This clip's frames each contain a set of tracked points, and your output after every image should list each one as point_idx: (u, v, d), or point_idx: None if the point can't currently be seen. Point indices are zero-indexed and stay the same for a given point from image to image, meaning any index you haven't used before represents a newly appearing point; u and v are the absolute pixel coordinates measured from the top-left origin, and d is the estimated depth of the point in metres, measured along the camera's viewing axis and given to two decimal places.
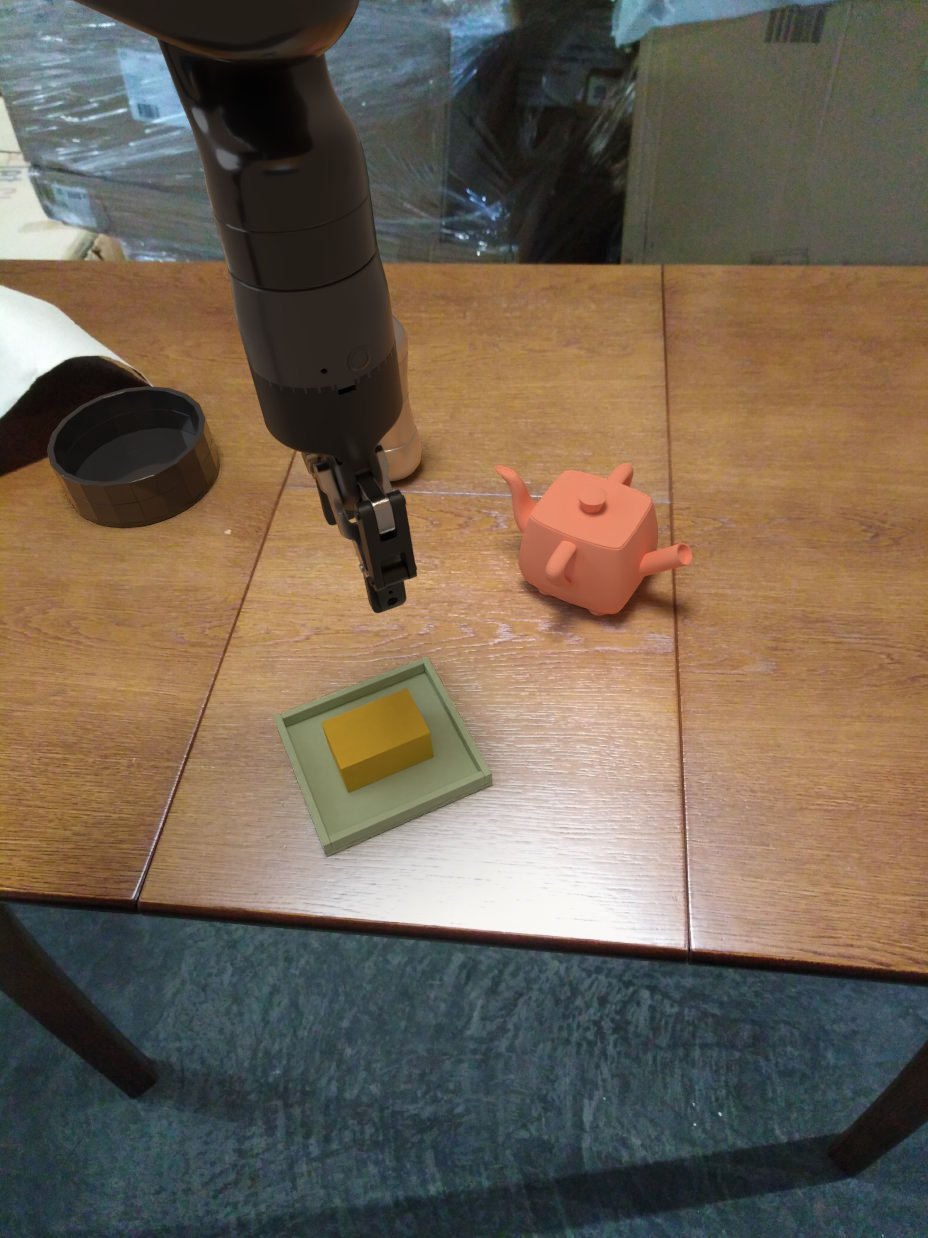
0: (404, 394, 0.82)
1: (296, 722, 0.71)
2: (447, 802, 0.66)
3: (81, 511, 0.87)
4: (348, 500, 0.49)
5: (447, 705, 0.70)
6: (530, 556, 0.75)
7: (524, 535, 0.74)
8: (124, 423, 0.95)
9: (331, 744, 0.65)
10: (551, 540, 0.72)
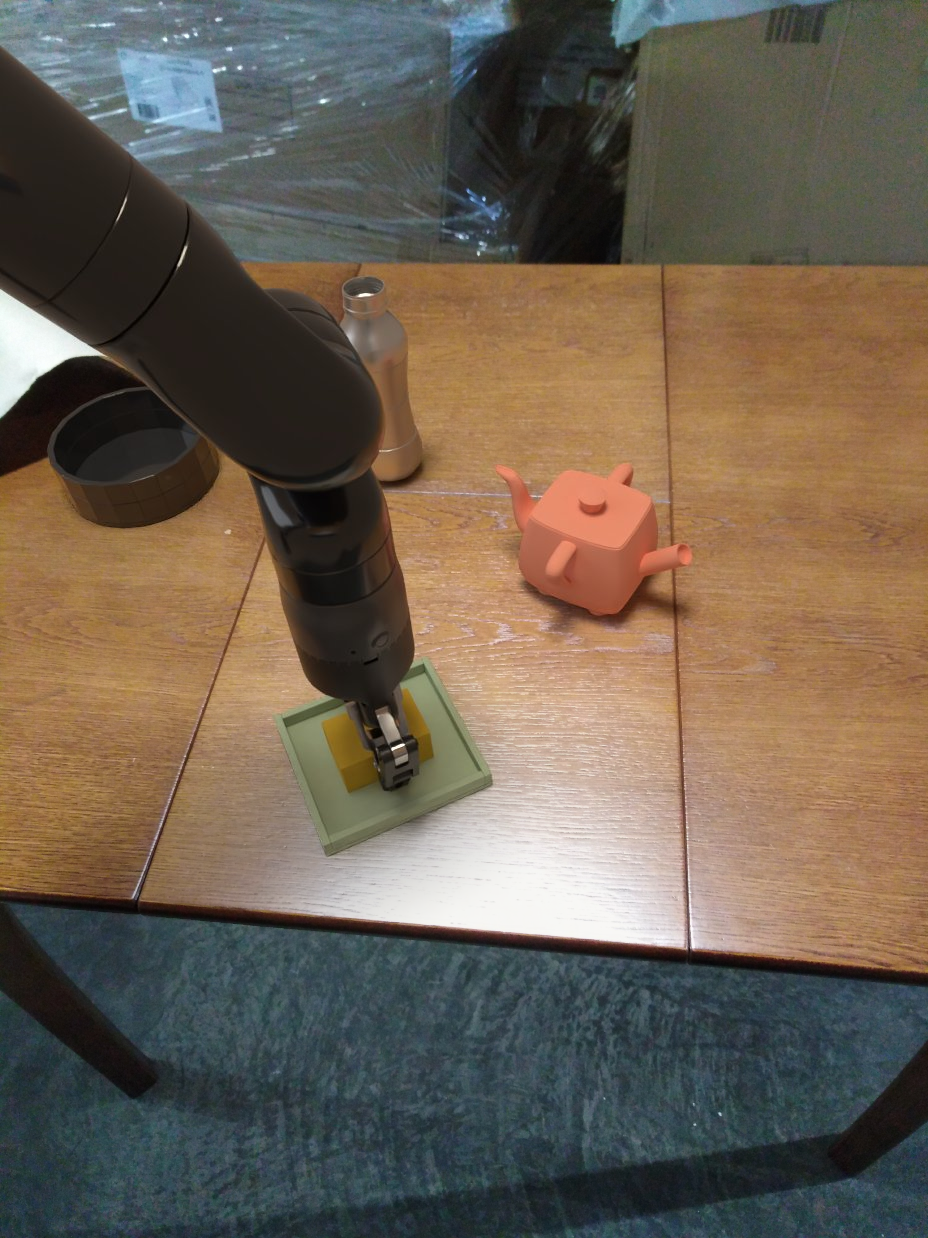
0: (404, 394, 0.82)
1: (296, 722, 0.71)
2: (447, 802, 0.66)
3: (81, 511, 0.87)
4: (370, 727, 0.59)
5: (447, 705, 0.70)
6: (530, 556, 0.75)
7: (524, 535, 0.74)
8: (124, 423, 0.95)
9: (331, 744, 0.65)
10: (551, 540, 0.72)
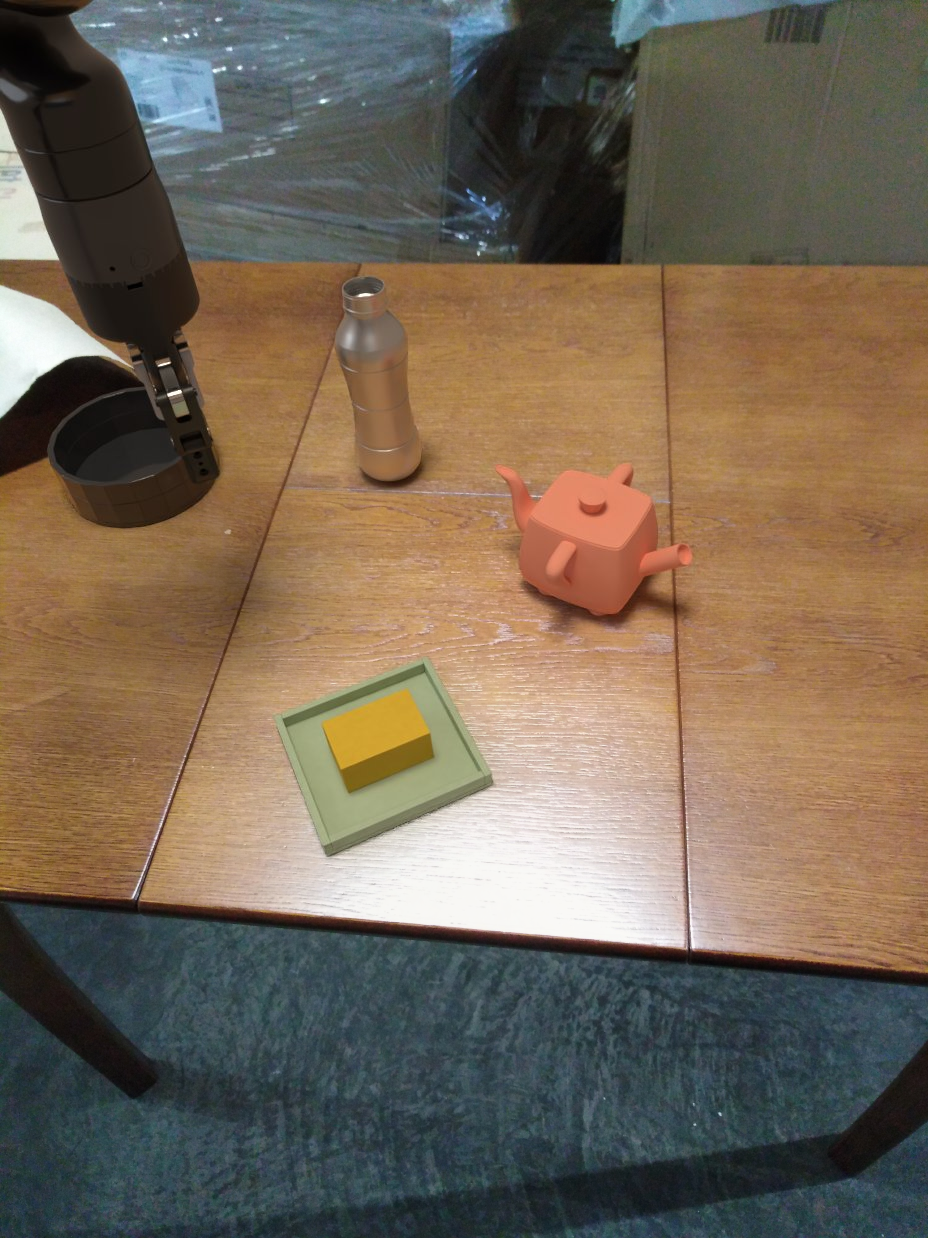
0: (404, 394, 0.82)
1: (296, 722, 0.71)
2: (447, 802, 0.66)
3: (81, 511, 0.87)
4: (156, 384, 0.60)
5: (447, 705, 0.70)
6: (530, 556, 0.75)
7: (524, 535, 0.74)
8: (124, 423, 0.95)
9: (331, 744, 0.65)
10: (551, 540, 0.72)
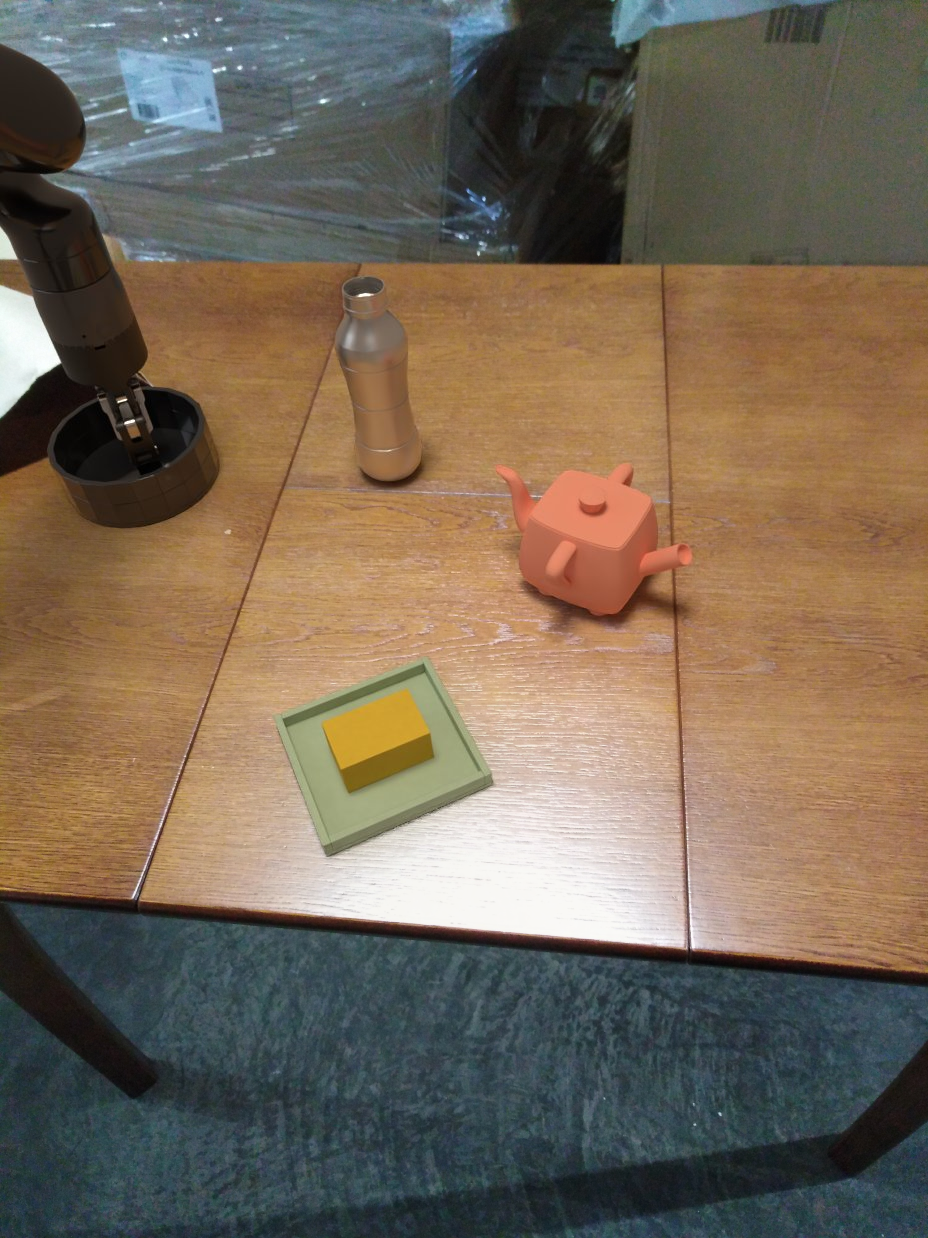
0: (404, 394, 0.82)
1: (296, 722, 0.71)
2: (447, 802, 0.66)
3: (81, 511, 0.87)
4: (116, 415, 0.83)
5: (447, 705, 0.70)
6: (530, 556, 0.75)
7: (524, 535, 0.74)
8: None
9: (331, 744, 0.65)
10: (551, 540, 0.72)
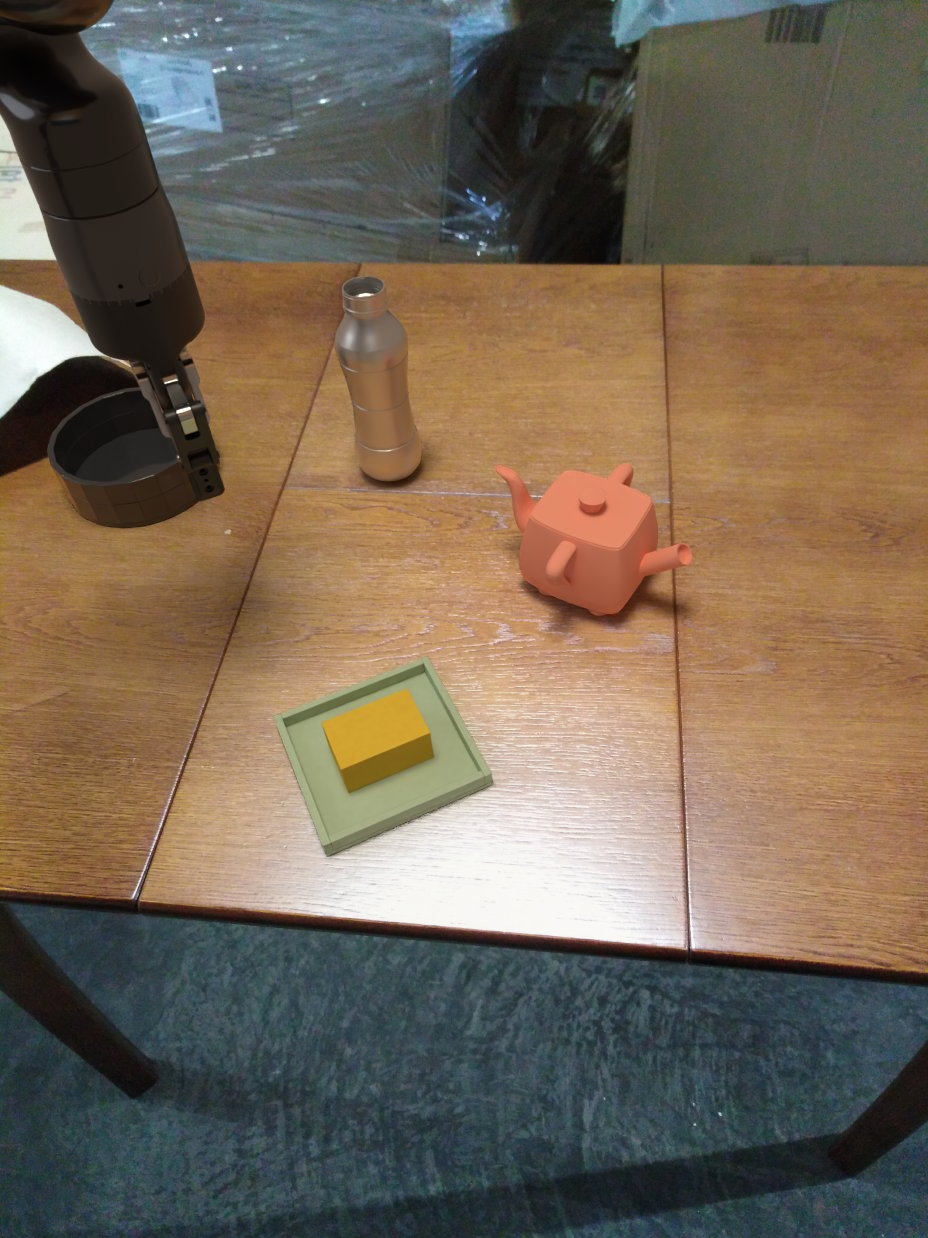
0: (404, 394, 0.82)
1: (296, 722, 0.71)
2: (447, 802, 0.66)
3: (81, 511, 0.87)
4: (162, 402, 0.59)
5: (447, 705, 0.70)
6: (530, 556, 0.75)
7: (524, 535, 0.74)
8: (124, 423, 0.95)
9: (331, 744, 0.65)
10: (551, 540, 0.72)
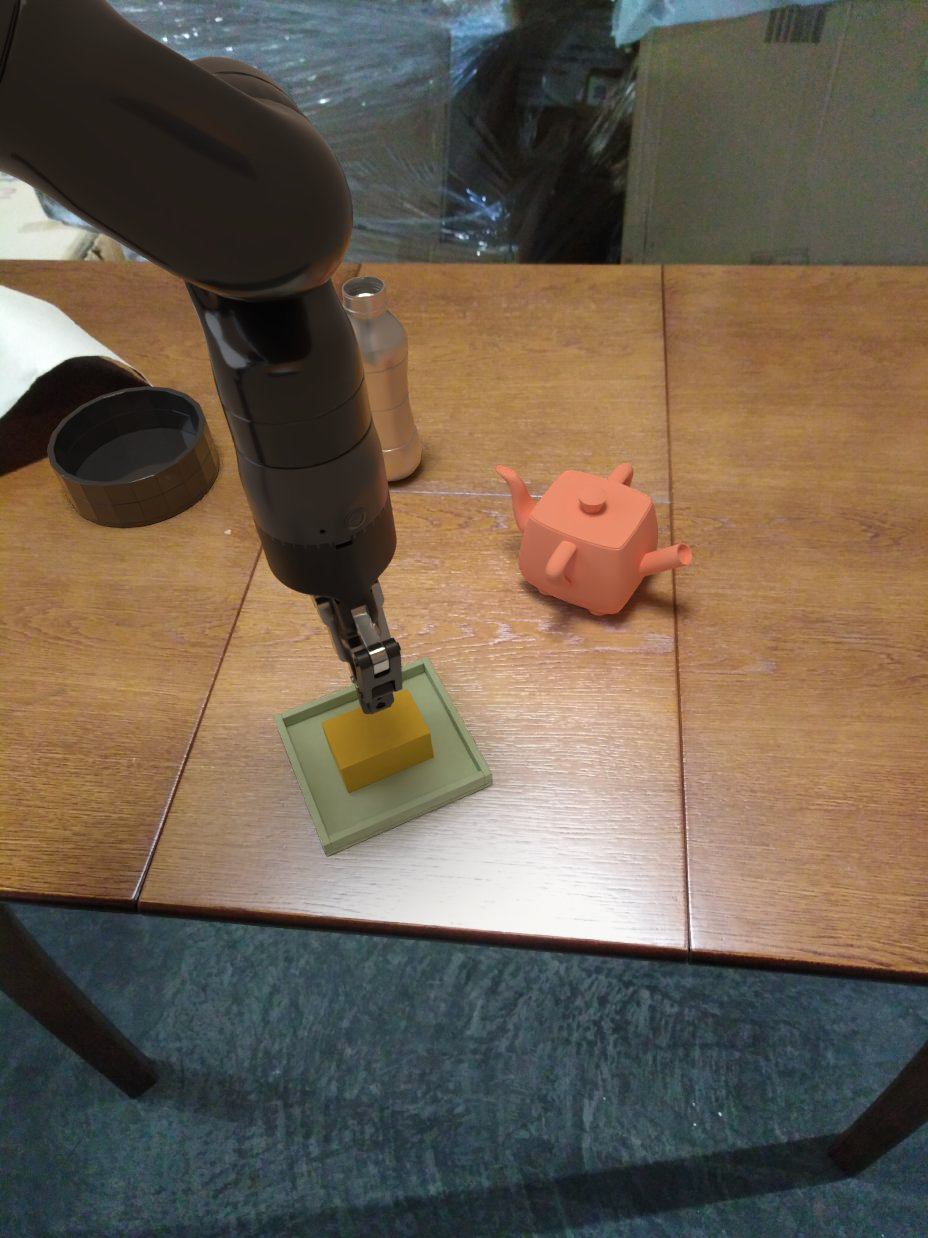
0: (404, 394, 0.82)
1: (296, 722, 0.71)
2: (447, 802, 0.66)
3: (81, 511, 0.87)
4: (346, 631, 0.52)
5: (447, 705, 0.70)
6: (530, 556, 0.75)
7: (524, 535, 0.74)
8: (124, 423, 0.95)
9: (331, 744, 0.65)
10: (551, 540, 0.72)
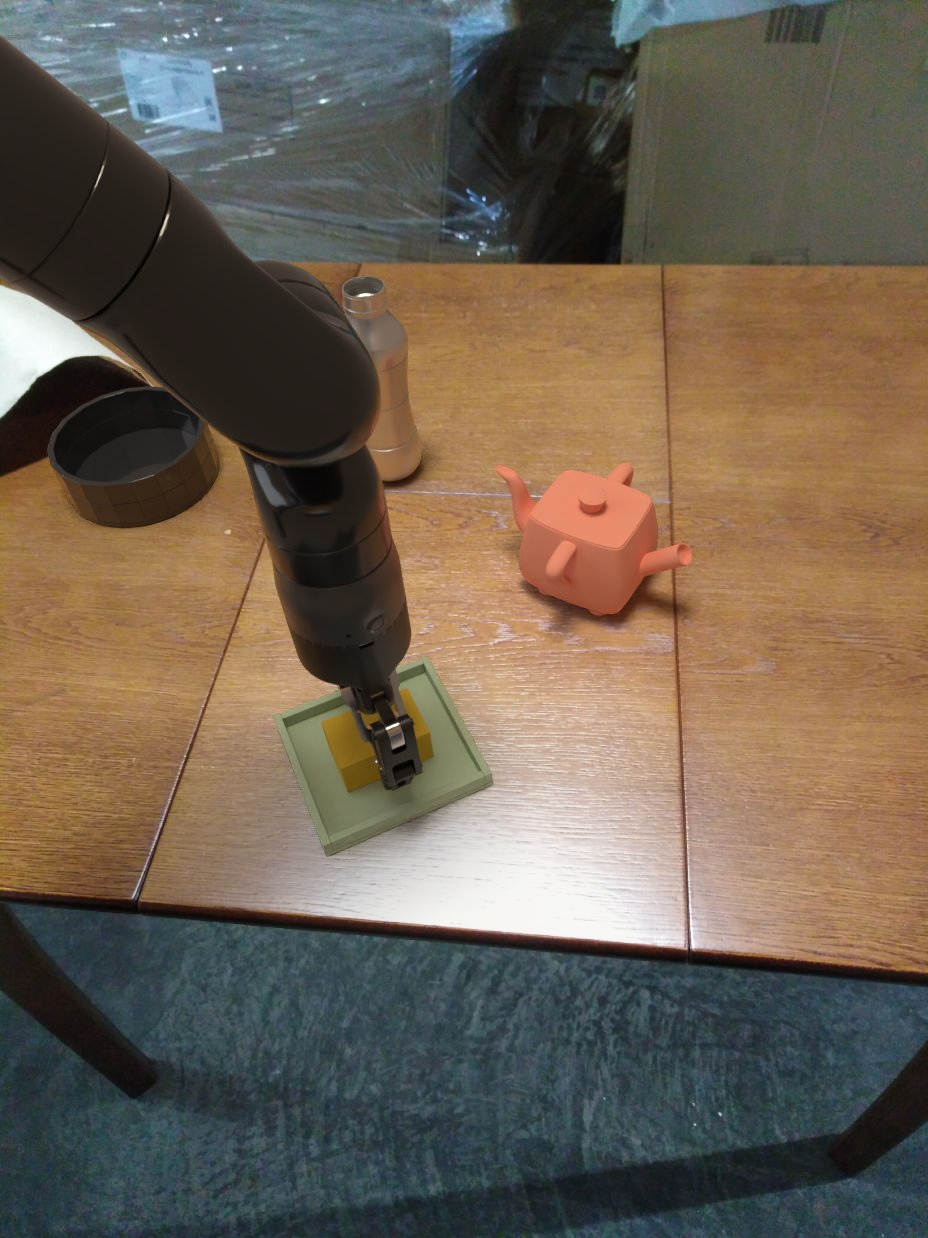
0: (404, 394, 0.82)
1: (296, 722, 0.71)
2: (447, 802, 0.66)
3: (81, 511, 0.87)
4: (365, 713, 0.59)
5: (447, 705, 0.70)
6: (530, 556, 0.75)
7: (524, 535, 0.74)
8: (124, 423, 0.95)
9: (331, 744, 0.65)
10: (551, 540, 0.72)
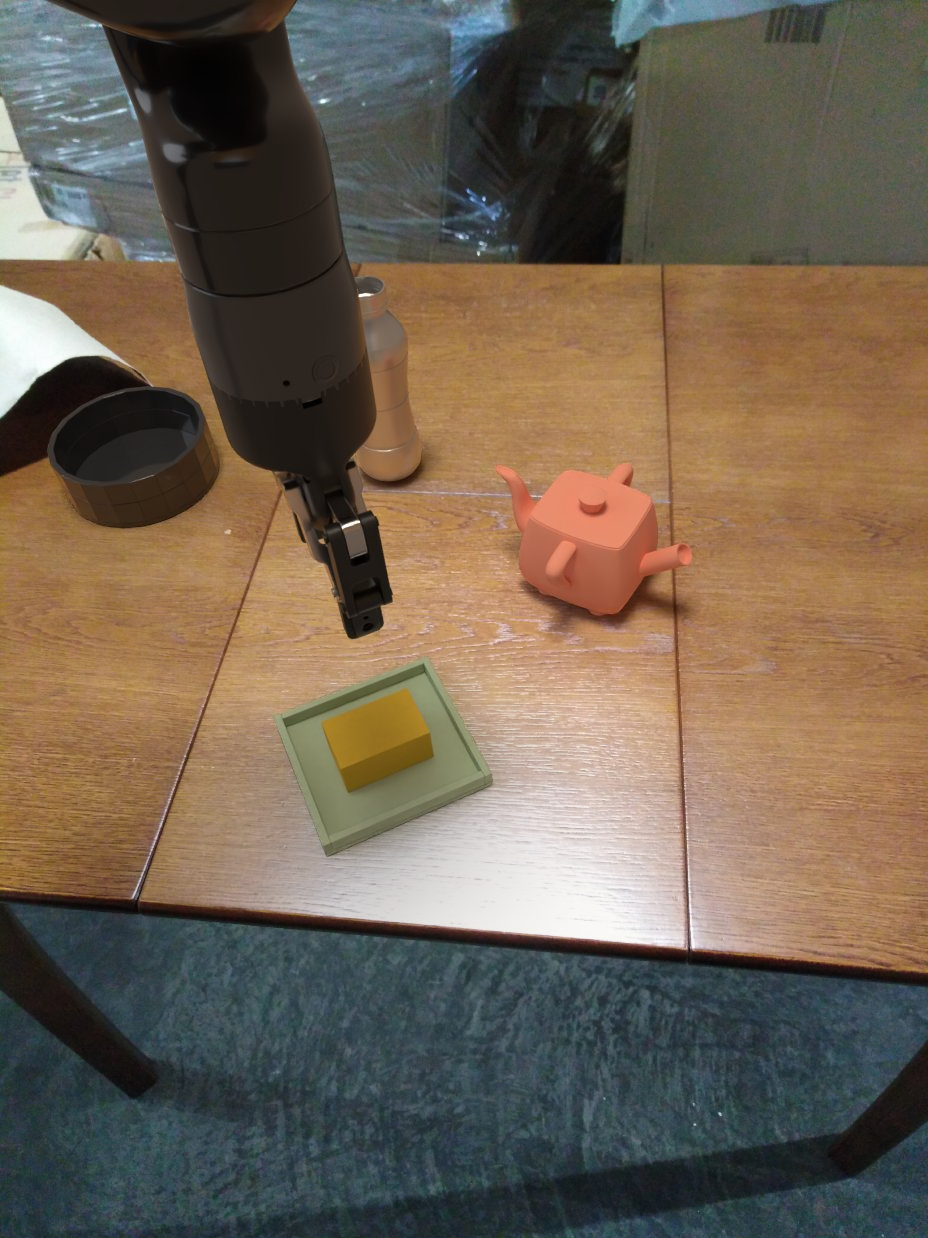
0: (404, 394, 0.82)
1: (296, 722, 0.71)
2: (447, 802, 0.66)
3: (81, 511, 0.87)
4: (318, 520, 0.45)
5: (447, 705, 0.70)
6: (530, 556, 0.75)
7: (524, 535, 0.74)
8: (124, 423, 0.95)
9: (331, 744, 0.65)
10: (551, 540, 0.72)
